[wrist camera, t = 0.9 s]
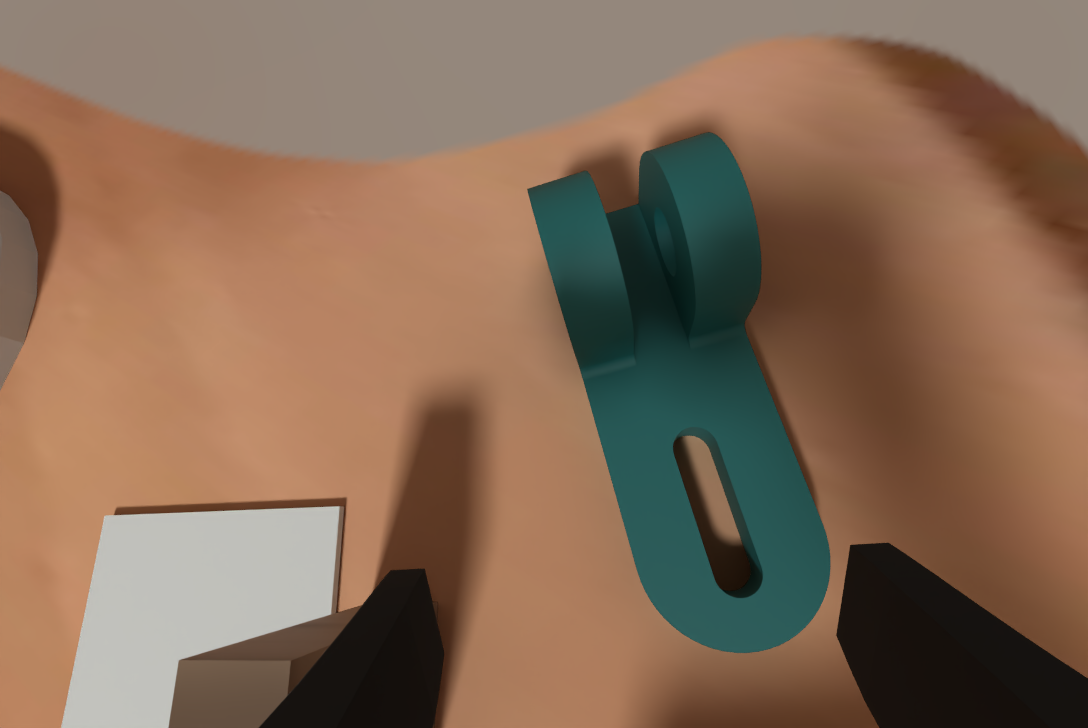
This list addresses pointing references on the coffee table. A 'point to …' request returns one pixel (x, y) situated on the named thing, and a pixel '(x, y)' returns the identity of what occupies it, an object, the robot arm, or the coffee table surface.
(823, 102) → the coffee table surface
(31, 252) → the dish
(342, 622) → the walnut block
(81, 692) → the grey mat
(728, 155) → the bracket
